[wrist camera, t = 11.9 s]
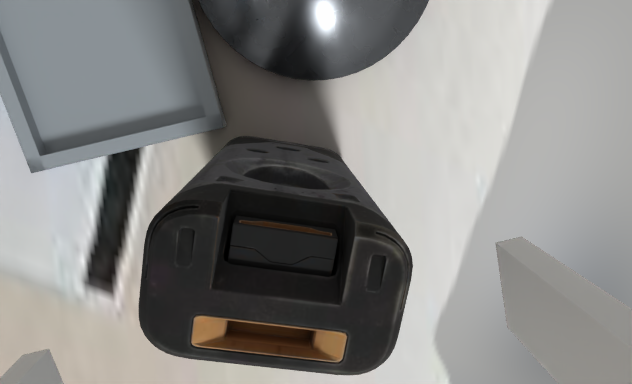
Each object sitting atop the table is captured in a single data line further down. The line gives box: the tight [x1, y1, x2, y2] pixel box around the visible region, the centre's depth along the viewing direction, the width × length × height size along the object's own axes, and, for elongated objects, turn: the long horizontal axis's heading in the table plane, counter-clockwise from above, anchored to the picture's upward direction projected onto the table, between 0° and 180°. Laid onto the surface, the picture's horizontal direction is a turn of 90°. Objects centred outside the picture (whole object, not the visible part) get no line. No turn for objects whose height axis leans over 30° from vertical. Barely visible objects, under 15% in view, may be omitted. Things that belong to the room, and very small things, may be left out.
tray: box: [0, 0, 226, 173], centre depth 31 cm, size 14×16×2 cm
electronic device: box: [139, 136, 413, 375], centre depth 25 cm, size 9×6×20 cm, turn 80°
